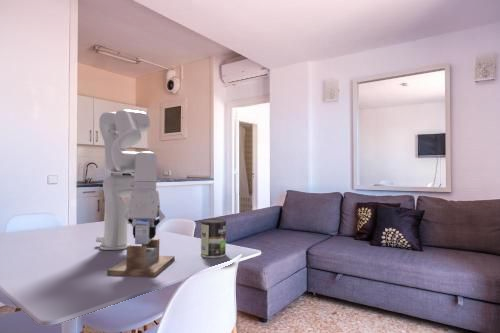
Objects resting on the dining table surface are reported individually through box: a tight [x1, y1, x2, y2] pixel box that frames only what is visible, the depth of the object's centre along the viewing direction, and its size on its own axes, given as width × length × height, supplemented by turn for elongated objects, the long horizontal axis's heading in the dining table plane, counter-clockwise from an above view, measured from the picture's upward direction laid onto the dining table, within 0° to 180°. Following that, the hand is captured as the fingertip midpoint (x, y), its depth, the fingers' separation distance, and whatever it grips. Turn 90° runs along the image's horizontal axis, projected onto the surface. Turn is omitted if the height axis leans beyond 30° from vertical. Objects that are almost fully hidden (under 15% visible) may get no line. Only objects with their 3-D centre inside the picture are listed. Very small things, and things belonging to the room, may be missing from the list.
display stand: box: [106, 238, 176, 278], centre depth 115 cm, size 16×20×8 cm
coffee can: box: [200, 218, 227, 259], centre depth 133 cm, size 10×10×14 cm
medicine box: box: [134, 218, 154, 245], centre depth 115 cm, size 8×4×9 cm, turn 5°
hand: (144, 237), depth 115 cm, fingers closed on medicine box, 5 cm apart
